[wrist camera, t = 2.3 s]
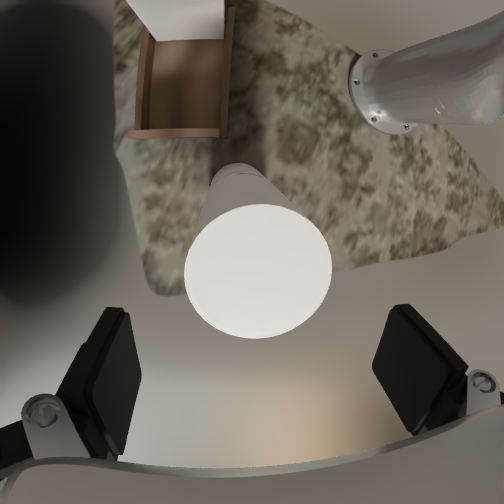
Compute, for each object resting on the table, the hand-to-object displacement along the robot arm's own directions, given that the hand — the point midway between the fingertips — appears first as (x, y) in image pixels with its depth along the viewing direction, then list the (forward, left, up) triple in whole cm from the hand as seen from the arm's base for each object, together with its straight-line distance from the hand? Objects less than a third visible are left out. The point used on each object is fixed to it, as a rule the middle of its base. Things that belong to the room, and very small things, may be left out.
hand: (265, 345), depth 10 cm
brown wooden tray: (+7, -15, -30) cm, 34 cm away
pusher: (+7, -21, -29) cm, 36 cm away
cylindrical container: (0, 0, -30) cm, 30 cm away
